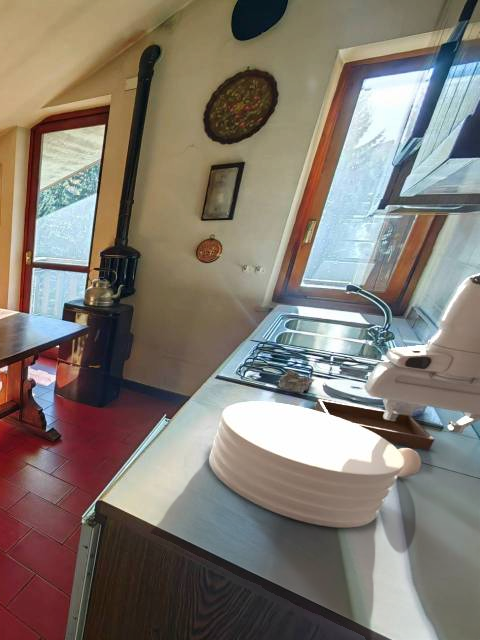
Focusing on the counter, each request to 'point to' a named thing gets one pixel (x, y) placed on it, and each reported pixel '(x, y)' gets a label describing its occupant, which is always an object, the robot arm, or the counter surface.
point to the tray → (380, 424)
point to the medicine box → (408, 408)
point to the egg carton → (295, 382)
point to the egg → (409, 462)
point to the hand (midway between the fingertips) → (420, 425)
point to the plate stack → (304, 463)
